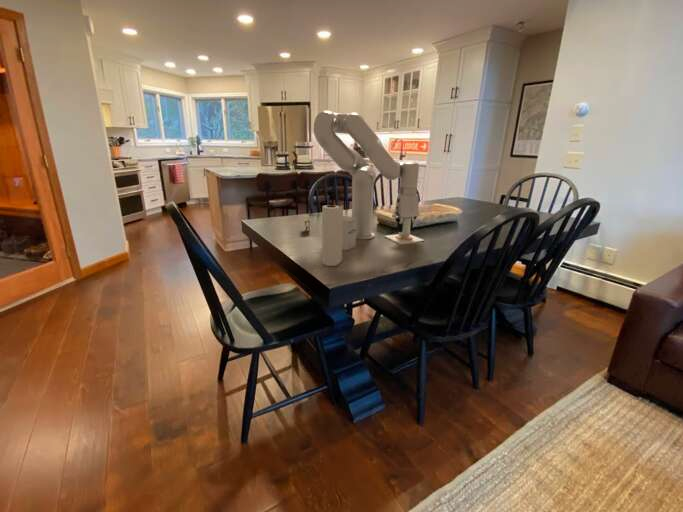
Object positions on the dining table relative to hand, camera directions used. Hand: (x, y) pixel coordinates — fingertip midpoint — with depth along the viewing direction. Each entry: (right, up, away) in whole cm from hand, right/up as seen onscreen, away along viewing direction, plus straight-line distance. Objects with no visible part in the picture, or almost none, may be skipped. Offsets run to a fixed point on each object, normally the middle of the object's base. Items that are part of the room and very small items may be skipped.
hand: (404, 230), depth 152 cm
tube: (0, -2, +1) cm, 2 cm away
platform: (-46, 0, +11) cm, 47 cm away
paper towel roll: (-33, -15, -31) cm, 47 cm away
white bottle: (-28, -8, -12) cm, 31 cm away
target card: (0, -4, +1) cm, 4 cm away
